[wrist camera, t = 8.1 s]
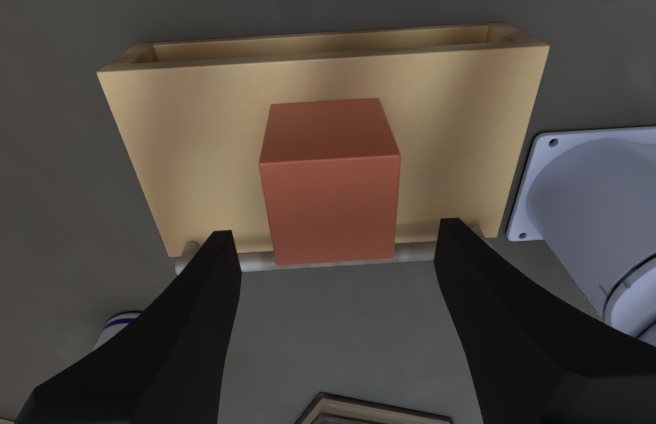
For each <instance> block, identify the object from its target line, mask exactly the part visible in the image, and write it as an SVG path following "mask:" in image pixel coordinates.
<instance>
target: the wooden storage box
mask: <svg viewBox="0 0 656 424" xmlns="http://www.w3.org/2000/svg"><path fill="white" fill-rule="evenodd" d="M549 49H550V46H549V45H547V44H546V43H544V42H542V41H540V40H538V39H536V38H534V37H533V36H531V35H529V34H527V33H525V32H523V31H521V30H519V29H517V28H516V27H514V26H512V25H510V24H508V23H506V22H493V23H486V24H485V23H475V24H458V25H441V26H424V27H407V28H390V29H372V30H355V31H338V32H321V33H304V34H287V35H269V36H252V37H235V38H218V39H201V40H183V41H166V42H156V43H154V42H152V43H137V44H135V45H134V46H132V47H131V48H130V49H128V50H127V51H126V52H124V53H123V54H121V55H120V56H119V57H117V58H116V59H115V60H113V61H112V62H111V63H109V64H108V65H106V66H105V67H103V68H102V69H101V70H99V71H98V72H97V76H98V78H99V81H100V83H101V86H102V88H103V91H104V93H105V96H106V98H107V101H108V103H109V106H110V108H111V111H112V114H113V116H114V119H115V121H116V124H117V126H118V129H119V131H120V134H121V136H122V139H123V141H124V144H125V146H126V149H127V151H128V154H129V157H130V159H131V162H132V164H133V167H134V169H135V172H136V174H137V177H138V179H139V182H140V184H141V187H142V189H143V192H144V194H145V197H146V200H147V202H148V205H149V207H150V210H151V212H152V215H153V217H154V220H155V222H156V225H157V227H158V230H159V232H160V235H161V238H162V240H163V243H164V245H165V248H166V250H167V253H168V255H169V257H177V256H181V257H180V258H178V259H177V260H176V263H175V270H176V273H177V275H179V274H180V272H181V271H182V270H183V269H184V268H185V266H186V265H187V264H188V263H189V262H190V260H191V259H192V258H193V257H194V255H195V254H196V253H197V251H198V250H199V249H200V248H201V246H202V245H203V244H204V242H205V241H206V240H207V238H208V237H209V236H210V235H211V233H212V232H213V231H220V230H232V234H233V238H234V242H235V246H236V250H237V253H243V252H259V251H273V245H272V240H271V234H270V228H269V222H268V217H267V211H266V205H265V199H264V194H263V188H262V182H261V176H260V171H259V165H258V164H259V159H260V154H261V149H262V144H263V139H264V134H265V129H266V124H267V120H268V115H269V110H270V105H272V104H287V103H304V102H321V101H338V100H355V99H372V98H379V100H380V102H381V105H382V107H383V110H384V113H385V115H386V118H387V120H388V123H389V125H390V128H391V131H392V133H393V136H394V138H395V141H396V143H397V146H398V149H399V151H400V154H401V167H400V180H399V193H398V207H397V220H396V233H395V243H408V242H424V241H437V237H438V231H439V225H440V219H441V218H455V217H459V218H460V219H461V220H462V221H463V222H464V223H465V224H466V225H467V226H468V227H469V228H470V229H471V230H472V231H474V232H475V233H476V234H477V235H478V236H479V237H480V238H481V239H482V240H483V241H484V242H485V243H487V244H488V245H489V246H490V247H491V248H492V249H493V245H492V242H491V240H489V239H486V238H490V237H497V234H498V231H499V227H500V224H501V220H502V217H503V213H504V209H505V206H506V202H507V199H508V195H509V192H510V188H511V184H512V181H513V177H514V174H515V170H516V167H517V163H518V159H519V156H520V152H521V149H522V145H523V142H524V138H525V134H526V131H527V127H528V124H529V120H530V117H531V113H532V109H533V106H534V102H535V99H536V95H537V92H538V88H539V84H540V81H541V77H542V74H543V70H544V67H545V63H546V59H547V56H548V52H549ZM436 243H437V242H429V243H413V244H396V245H395V246H394V257H393V258H392V259H380V260H363V261H347V262H331V263H314V264H298V265H281V266H277V265H276V262H275V257H274V252H265V253H248V254H238V258H239V263H240V267H241V271H242V272H247V271H264V270H280V269H297V268H313V267H330V266H346V265H362V264H379V263H395V262H412V261H428V260H434V255H435V249H436Z"/></svg>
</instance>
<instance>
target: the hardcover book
mask: <svg viewBox="0 0 656 424" xmlns="http://www.w3.org/2000/svg"><path fill="white" fill-rule="evenodd" d="M295 424H454V423H453V422H452V420H451V419H449V418H448V417H444V416H439V415H433V414H428V413H423V412H418V411H413V410H407V409H402V408H397V407H392V406H387V405H381V404H376V403H371V402H366V401H361V400H356V399H350V398H345V397H340V396H335V395H330V394H324V393H319V395H318V396H317V397H316V398H315V400H314V401H313V402H312V403H311V405H310V406H309V407H308V408H307V410H306V411H305V412H304V413H303V415H302V416H301V417H300V418H299V420H298V421H297V422H296V423H295Z"/></svg>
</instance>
